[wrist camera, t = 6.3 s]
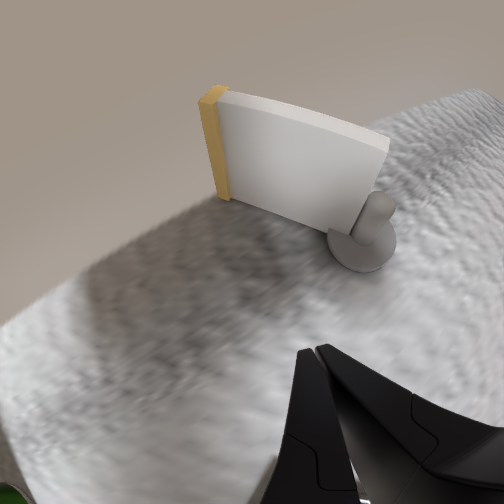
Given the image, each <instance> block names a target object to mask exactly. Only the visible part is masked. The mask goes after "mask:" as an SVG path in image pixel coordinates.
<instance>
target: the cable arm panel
mask: <svg viewBox="0 0 504 504" xmlns="http://www.w3.org/2000/svg"><path fill="white" fill-rule="evenodd" d="M198 105H199V110H200V115H201V120H202V125H203V129H204V134H205V138H206V144H207V148H208V153H209V157H210V162H211V167H212V171H213V176H214V180H215V185H216V189H217V194H218V197H219V198H221V199H224V200H227V201H229V200H230V199H231V198H233V199H236V200H239V201H242V202H245V203H247V204H250V205H253V206H256V207H259V208H261V209H264V210H267V211H270V212H272V213H275V214H278V215H280V216H283V217H286V218H288V219H291V220H294V221H296V222H299V223H302V224H304V225H307V226H309V227H312V228H314V229H317V230H320V231H322V232H325V233H327V243H328V246H329V249H330V251H331V253H332V254H333V256H334V257H335V258H336V260H337V261H338V262H339V263H341V264H342V265H343V266H345V267H346V268H348V269H350V270H353V271H356V272H364V273H365V272H373V271H376V270H378V269H380V268H381V267H383V266H384V265H385V264H386V263H387V262H388V260H389V259H390V258H391V257H392V255H393V253H394V251H395V248H396V235H395V231H394V229H393V227H392V225H391V223H390V221H389V220H390V218H391V217H392V215H393V213H394V212H395V203H394V201H393V199H392V198H391V197H390V196H389V195H388V194H386V193H384V192H381V191H374V192H372V193H370V194H369V192H370V190H371V188H372V186H373V184H374V182H375V180H376V178H377V175H378V173H379V171H380V169H381V167H382V165H383V162H384V160H385V158H386V156H387V153H388V149H389V143H390V138H388V137H386V136H383V135H381V134H378V133H376V132H373V131H371V130H368V129H365V128H363V127H360V126H357V125H355V124H352V123H349V122H346V121H343V120H340V119H337V118H334V117H331V116H328V115H325V114H322V113H318V112H315V111H312V110H308V109H305V108H301V107H297V106H294V105H291V104H287V103H283V102H279V101H275V100H271V99H267V98H262V97H258V96H253V95H249V94H244V93H238V92H234V91H230V90H229V87H226V86H220V85H214V86H213V87H212V88H211V89H210V90H209V91H208V92H207V93H206V94H205V95H204V96H203V97H202V98H201V99H200V100H199V101H198ZM368 195H369V196H368ZM367 197H368V198H367ZM366 199H367V200H366ZM365 201H366V202H365ZM364 203H365V204H364Z"/></svg>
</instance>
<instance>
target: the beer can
mask: <svg viewBox="0 0 504 504" xmlns="http://www.w3.org/2000/svg"><path fill="white" fill-rule="evenodd" d="M0 504H33V502H32V501H31V499H30V498H29V497H28V496H27V495H26V494H25V493H24V492H23V491H22V490H20V489H19V488H18V487H16V486H14V485H12V484H9V483H6V482H0Z"/></svg>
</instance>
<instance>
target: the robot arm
mask: <svg viewBox="0 0 504 504" xmlns="http://www.w3.org/2000/svg"><path fill="white" fill-rule="evenodd" d="M349 458H350V459H349ZM350 460H351V462H352V465H353V467H354V469H355V471H356V473H357V475H358V477H359V480H360V482H361V484H362V486H363V488H364V490H365V493H366V495H367V497H368V499H369V501H370V503H371V504H504V427H494V426H490V425H487V424H484V423H481V422H478V421H475V420H473V419H470V418H467V417H465V416H462V415H459V414H457V413H454V412H452V411H449V410H447V409H444V408H442V407H440V406H438V405H436V404H434V403H432V402H430V401H428V400H426V399H424V398H422V397H420V396H418V395H416V394H412V392H411V391H409V390H407V389H405V388H404V387H402V386H400V385H398V384H397V383H395V382H393V381H391V380H389V379H388V378H386V377H384V376H383V375H381V374H379V373H377V372H376V371H374V370H372V369H370V368H369V367H367V366H365V365H364V364H362V363H360V362H358V361H357V360H355V359H353V358H352V357H350V356H348V355H347V354H345V353H343V352H342V351H340V350H338V349H337V348H335V347H333V346H332V345H330V344H324V345H320V346H317V347H316V348H315V354H314V352H313V350H312V349H311V348H307V349H303V350H299V351H298V352H297V359H296V365H295V372H294V378H293V384H292V390H291V396H290V402H289V407H288V413H287V418H286V424H285V429H284V435H283V438H282V444H281V448H280V452H279V456H278V460H277V463H276V465H275V468H274V471H273V474H272V477H271V479H270V481H269V484H268V486H267V488H266V491H265V493H264V495H263V497H262V500H261V502H260V504H361V501H360V498H359V494H358V492H357V486H356V482H355V478H354V474H353V470H352V466H351V462H350Z"/></svg>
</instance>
